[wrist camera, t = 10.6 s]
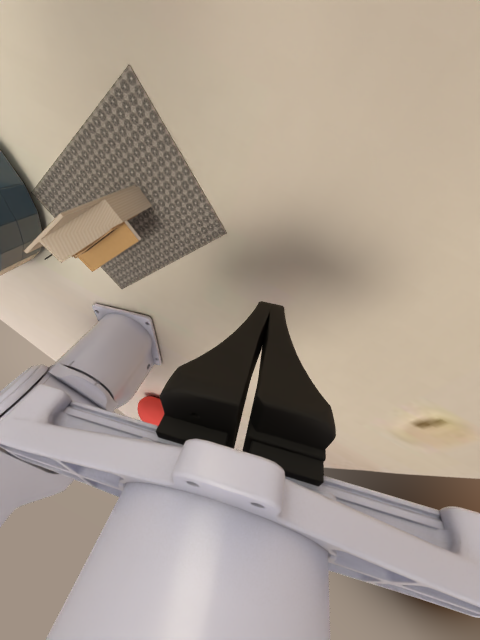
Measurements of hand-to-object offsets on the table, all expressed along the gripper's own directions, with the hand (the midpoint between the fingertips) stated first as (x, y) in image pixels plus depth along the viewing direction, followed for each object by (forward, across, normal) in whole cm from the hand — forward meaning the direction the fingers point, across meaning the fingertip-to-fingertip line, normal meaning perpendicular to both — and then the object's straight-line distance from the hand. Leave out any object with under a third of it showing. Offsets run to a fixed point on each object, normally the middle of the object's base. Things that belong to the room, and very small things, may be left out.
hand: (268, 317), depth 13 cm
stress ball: (+9, +15, +34) cm, 38 cm away
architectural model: (+9, +14, -1) cm, 17 cm away
